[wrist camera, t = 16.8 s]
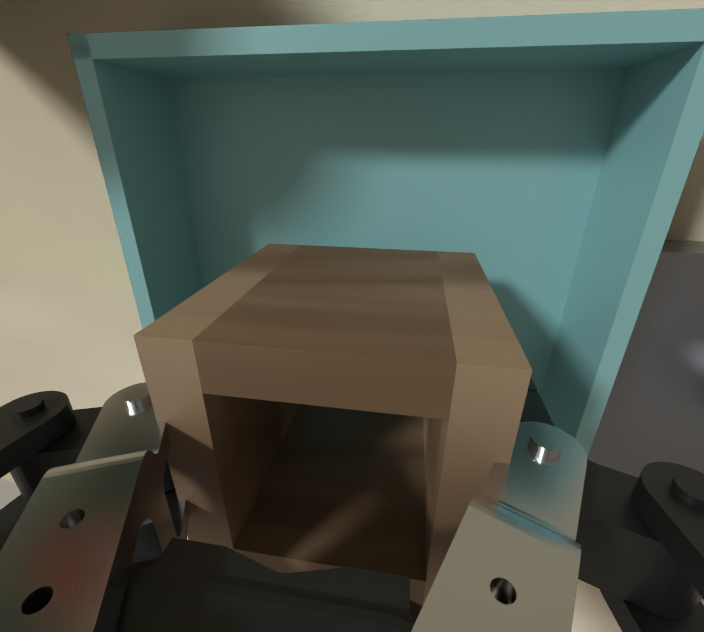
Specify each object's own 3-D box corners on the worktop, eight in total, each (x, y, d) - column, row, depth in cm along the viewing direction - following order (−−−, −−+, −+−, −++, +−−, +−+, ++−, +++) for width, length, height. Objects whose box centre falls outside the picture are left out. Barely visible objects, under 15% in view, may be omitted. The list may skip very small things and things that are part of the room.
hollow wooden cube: (268, 243, 11) (133, 334, 6) (474, 253, 10) (532, 370, 5) (283, 404, 14) (197, 570, 9) (449, 422, 13) (471, 619, 8)
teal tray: (159, 62, 12) (67, 34, 9) (644, 49, 10) (748, 7, 7) (227, 446, 19) (188, 508, 16) (524, 484, 17) (549, 564, 14)
